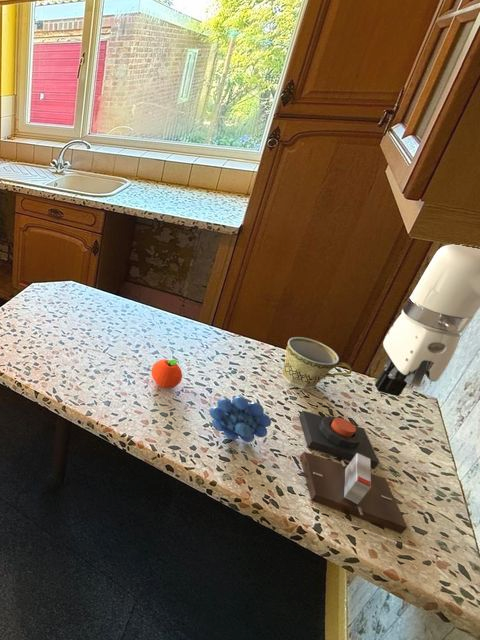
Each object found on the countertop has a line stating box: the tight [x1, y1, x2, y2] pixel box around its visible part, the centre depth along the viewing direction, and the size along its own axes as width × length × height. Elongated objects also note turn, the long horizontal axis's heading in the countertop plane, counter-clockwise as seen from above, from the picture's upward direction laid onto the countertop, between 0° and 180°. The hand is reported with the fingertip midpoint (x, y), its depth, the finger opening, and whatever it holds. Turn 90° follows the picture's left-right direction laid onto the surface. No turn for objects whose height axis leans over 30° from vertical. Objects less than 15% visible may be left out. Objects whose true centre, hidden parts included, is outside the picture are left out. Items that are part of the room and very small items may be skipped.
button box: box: [298, 410, 380, 470], centre depth 86 cm, size 11×9×4 cm
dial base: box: [299, 451, 408, 534], centre depth 76 cm, size 13×12×2 cm
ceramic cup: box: [281, 336, 353, 390], centre depth 99 cm, size 13×10×10 cm
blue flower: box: [208, 395, 272, 443], centre depth 84 cm, size 12×7×12 cm, turn 74°
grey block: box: [344, 453, 372, 504], centre depth 75 cm, size 8×2×5 cm, turn 138°
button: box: [331, 417, 356, 437], centre depth 85 cm, size 4×4×2 cm
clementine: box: [151, 358, 183, 389], centre depth 100 cm, size 8×7×7 cm
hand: (386, 390), depth 78 cm, fingers closed
